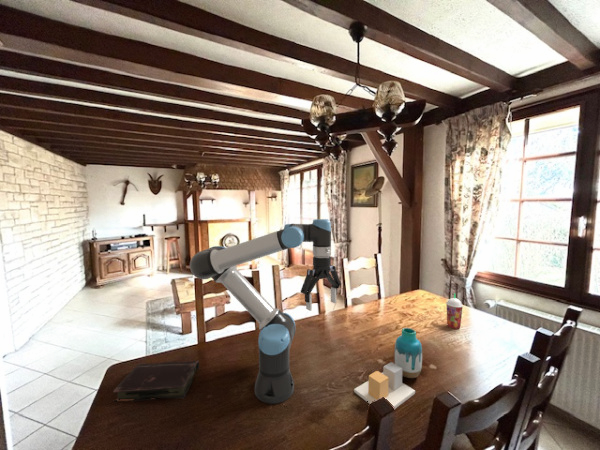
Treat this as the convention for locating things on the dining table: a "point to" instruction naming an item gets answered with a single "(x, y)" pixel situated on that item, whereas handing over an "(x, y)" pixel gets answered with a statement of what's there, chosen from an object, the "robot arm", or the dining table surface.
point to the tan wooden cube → (378, 385)
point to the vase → (408, 353)
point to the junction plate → (389, 387)
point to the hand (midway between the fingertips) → (321, 305)
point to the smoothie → (454, 312)
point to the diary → (157, 381)
